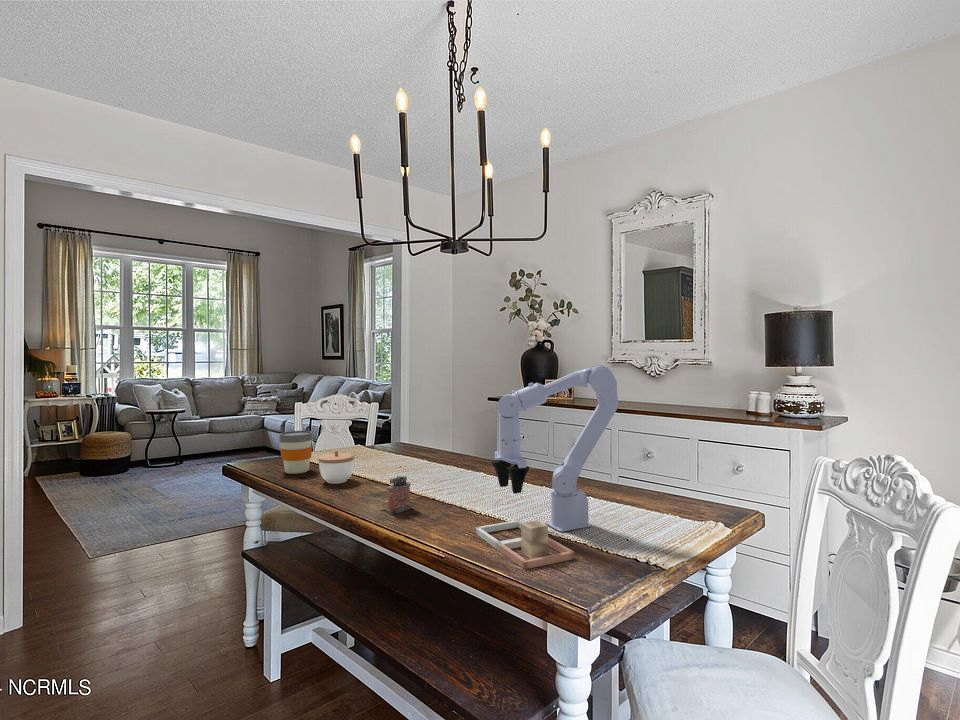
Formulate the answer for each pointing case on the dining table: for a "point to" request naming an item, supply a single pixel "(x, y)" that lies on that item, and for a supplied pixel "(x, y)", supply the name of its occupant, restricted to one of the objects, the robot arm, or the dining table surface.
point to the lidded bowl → (336, 467)
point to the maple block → (534, 539)
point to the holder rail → (515, 543)
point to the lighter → (398, 495)
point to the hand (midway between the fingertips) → (510, 489)
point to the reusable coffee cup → (296, 450)
